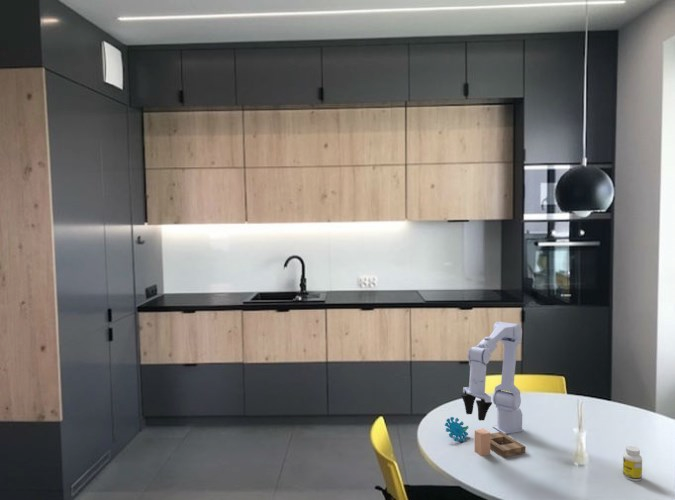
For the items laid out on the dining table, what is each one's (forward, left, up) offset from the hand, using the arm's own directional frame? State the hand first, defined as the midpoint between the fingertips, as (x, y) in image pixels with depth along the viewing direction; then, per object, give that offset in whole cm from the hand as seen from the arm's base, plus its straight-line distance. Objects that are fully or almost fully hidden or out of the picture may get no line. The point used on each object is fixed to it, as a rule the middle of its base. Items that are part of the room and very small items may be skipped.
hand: (475, 417), depth 185 cm
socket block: (-12, 0, -13) cm, 18 cm away
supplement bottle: (-37, +34, -13) cm, 52 cm away
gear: (-1, -13, -14) cm, 19 cm away
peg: (-2, +1, -13) cm, 14 cm away
